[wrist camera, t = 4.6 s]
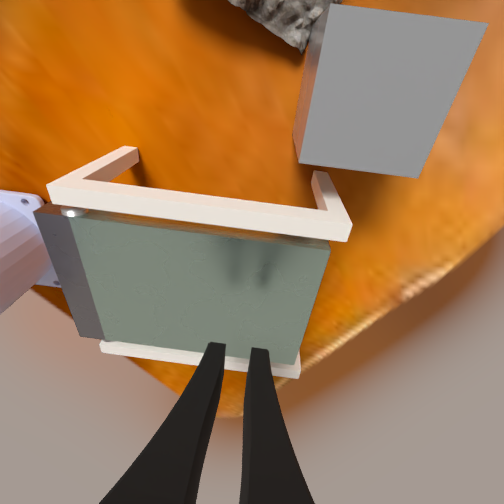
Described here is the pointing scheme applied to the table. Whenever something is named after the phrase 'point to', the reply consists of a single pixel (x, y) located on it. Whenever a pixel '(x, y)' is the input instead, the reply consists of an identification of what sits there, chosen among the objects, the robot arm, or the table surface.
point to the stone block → (379, 87)
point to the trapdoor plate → (183, 281)
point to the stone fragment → (286, 17)
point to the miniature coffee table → (200, 211)
